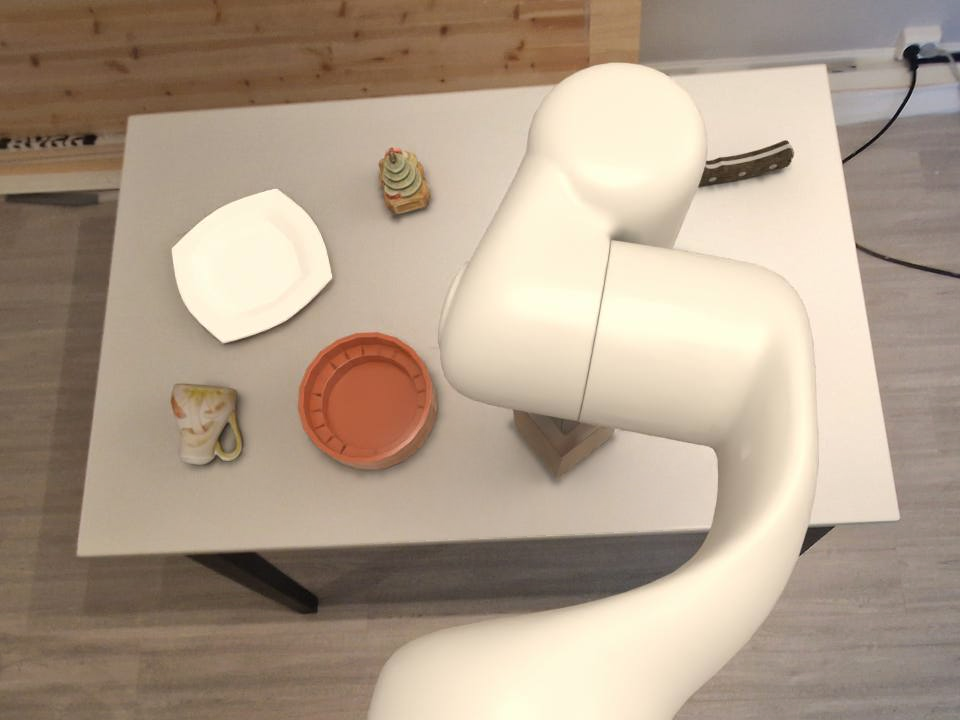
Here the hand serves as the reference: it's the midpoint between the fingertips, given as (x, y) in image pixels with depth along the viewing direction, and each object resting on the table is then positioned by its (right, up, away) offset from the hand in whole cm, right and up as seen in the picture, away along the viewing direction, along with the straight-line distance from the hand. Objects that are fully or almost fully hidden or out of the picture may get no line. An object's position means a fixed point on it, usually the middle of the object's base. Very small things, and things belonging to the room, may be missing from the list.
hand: (575, 361), depth 57 cm
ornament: (-18, +23, +37) cm, 47 cm away
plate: (-37, +12, +35) cm, 52 cm away
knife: (+17, +23, +35) cm, 45 cm away
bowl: (-20, -6, +28) cm, 35 cm away
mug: (-40, -8, +29) cm, 50 cm away
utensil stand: (+2, -8, +26) cm, 27 cm away
